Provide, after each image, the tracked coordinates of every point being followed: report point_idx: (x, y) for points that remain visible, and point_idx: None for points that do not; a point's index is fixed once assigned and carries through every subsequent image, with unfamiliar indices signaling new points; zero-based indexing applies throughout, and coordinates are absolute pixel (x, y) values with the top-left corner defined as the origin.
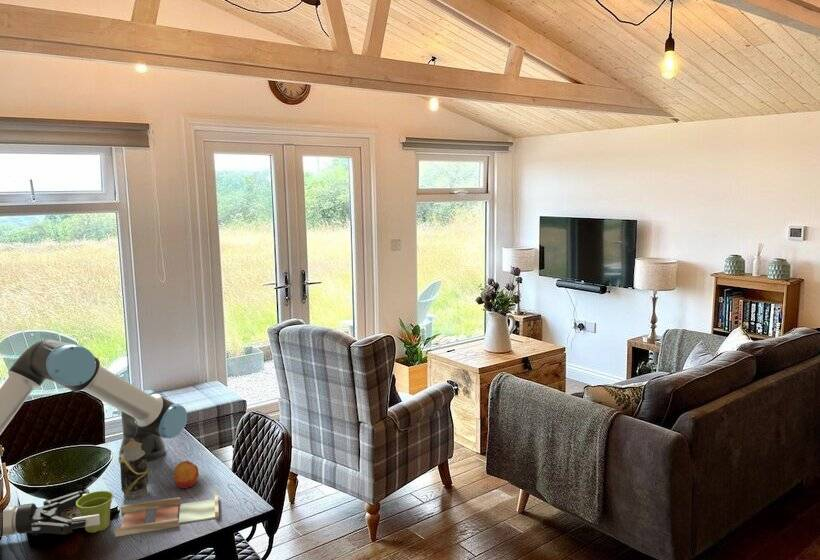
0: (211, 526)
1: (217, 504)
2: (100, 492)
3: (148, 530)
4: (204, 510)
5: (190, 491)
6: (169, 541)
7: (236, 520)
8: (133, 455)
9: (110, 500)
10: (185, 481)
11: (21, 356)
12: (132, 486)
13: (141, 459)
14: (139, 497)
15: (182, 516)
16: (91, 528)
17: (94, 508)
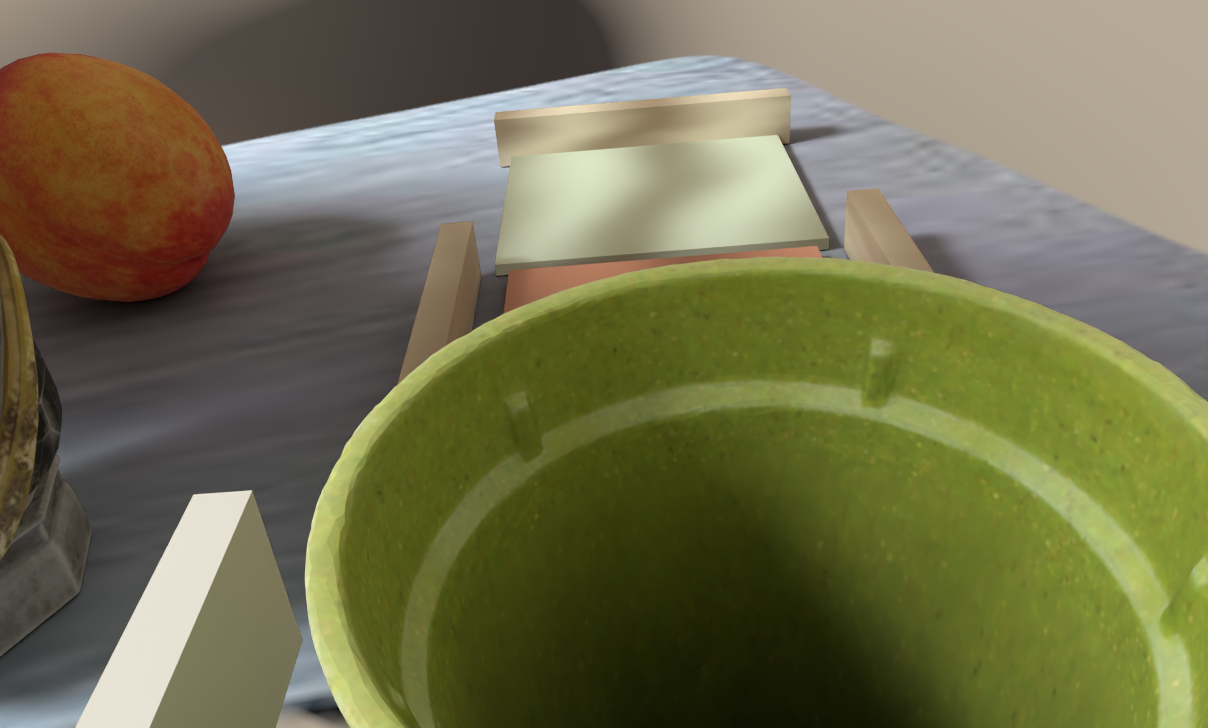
0: (889, 145)
1: (675, 99)
2: (380, 470)
3: None
4: (669, 170)
5: (271, 260)
6: (1119, 256)
7: (826, 95)
8: None
9: (870, 273)
10: (225, 184)
11: None
12: (37, 410)
13: None
14: (85, 538)
15: (729, 233)
16: None
17: (1166, 461)
